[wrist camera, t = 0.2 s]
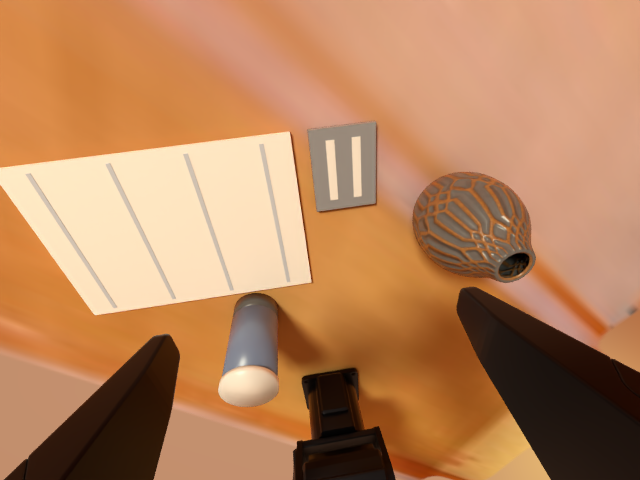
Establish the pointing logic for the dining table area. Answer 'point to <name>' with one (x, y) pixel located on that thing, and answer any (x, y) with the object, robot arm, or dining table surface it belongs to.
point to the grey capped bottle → (252, 353)
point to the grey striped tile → (343, 165)
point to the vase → (474, 227)
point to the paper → (169, 221)
